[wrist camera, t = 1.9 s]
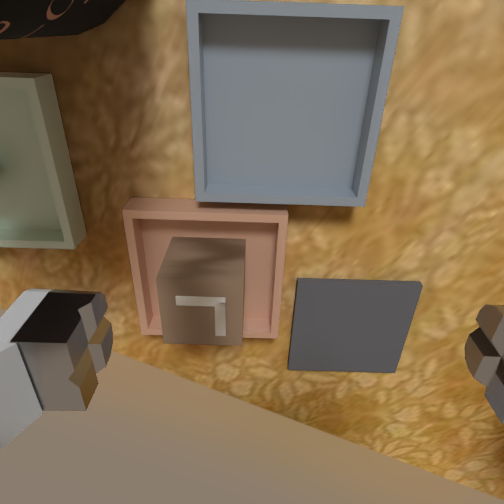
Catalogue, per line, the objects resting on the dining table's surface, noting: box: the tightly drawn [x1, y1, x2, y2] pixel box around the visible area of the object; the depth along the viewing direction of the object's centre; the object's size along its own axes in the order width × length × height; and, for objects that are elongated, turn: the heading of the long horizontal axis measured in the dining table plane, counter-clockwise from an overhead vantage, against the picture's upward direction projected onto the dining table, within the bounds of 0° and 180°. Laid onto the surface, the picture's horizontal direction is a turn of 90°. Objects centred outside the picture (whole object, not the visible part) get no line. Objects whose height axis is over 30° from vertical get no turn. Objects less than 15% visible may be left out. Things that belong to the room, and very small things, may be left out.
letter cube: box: [156, 237, 246, 346], centre depth 28 cm, size 6×6×6 cm
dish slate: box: [186, 0, 404, 207], centre depth 23 cm, size 11×11×2 cm
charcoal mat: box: [288, 278, 423, 373], centre depth 33 cm, size 10×10×1 cm
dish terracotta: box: [122, 197, 288, 339], centre depth 29 cm, size 11×11×2 cm
